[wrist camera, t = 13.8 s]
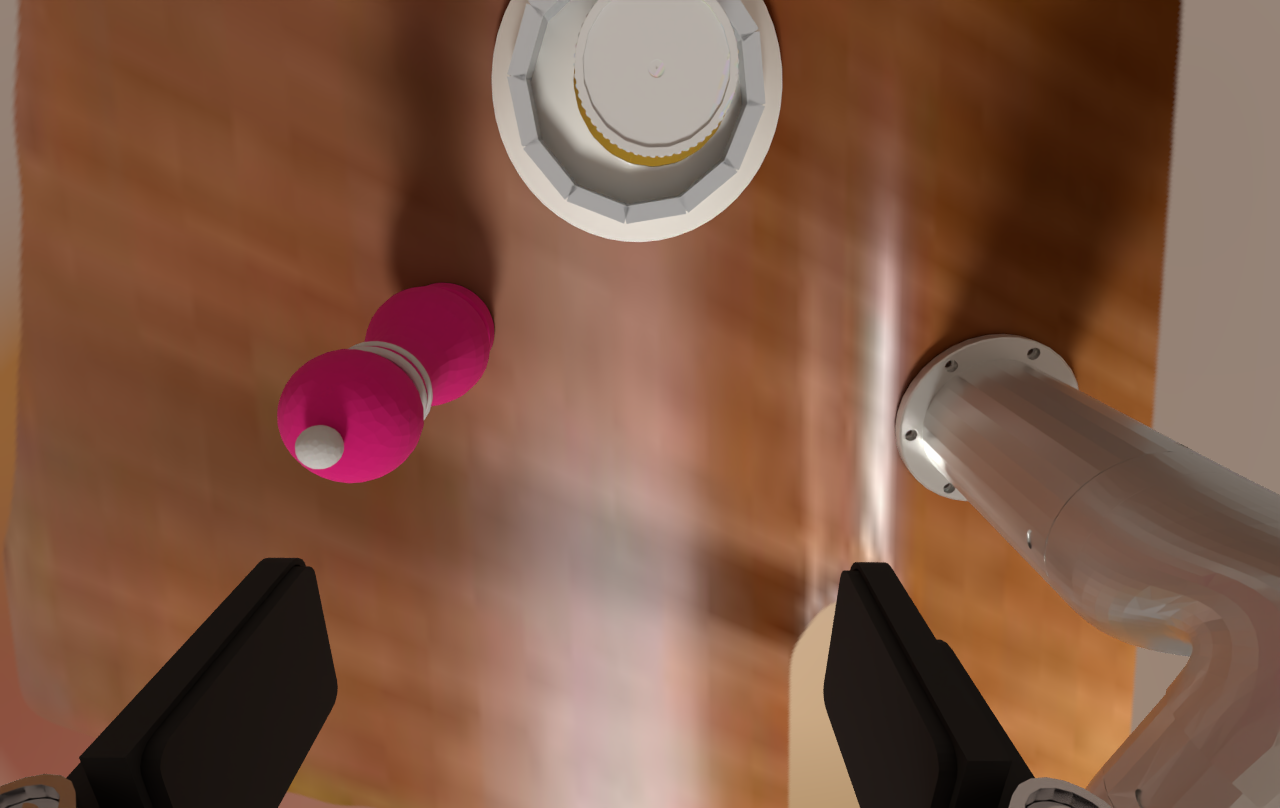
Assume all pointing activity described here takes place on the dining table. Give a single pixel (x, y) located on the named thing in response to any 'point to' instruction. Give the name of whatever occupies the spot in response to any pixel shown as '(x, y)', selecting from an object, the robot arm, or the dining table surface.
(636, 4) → the bottle
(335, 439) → the pepper mill
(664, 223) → the collar base
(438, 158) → the dining table surface
